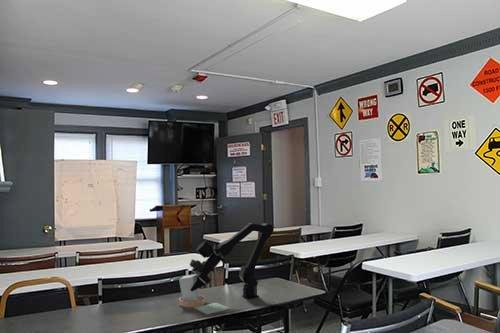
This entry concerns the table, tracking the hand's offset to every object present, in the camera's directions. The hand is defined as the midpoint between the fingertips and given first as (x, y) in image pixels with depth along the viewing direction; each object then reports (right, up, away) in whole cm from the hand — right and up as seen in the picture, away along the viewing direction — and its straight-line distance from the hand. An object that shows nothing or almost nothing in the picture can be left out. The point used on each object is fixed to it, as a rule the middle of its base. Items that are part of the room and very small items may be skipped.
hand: (189, 288), depth 200 cm
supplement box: (+2, -7, 0) cm, 7 cm away
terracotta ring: (+1, -7, 0) cm, 7 cm away
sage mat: (+12, -7, -10) cm, 17 cm away
